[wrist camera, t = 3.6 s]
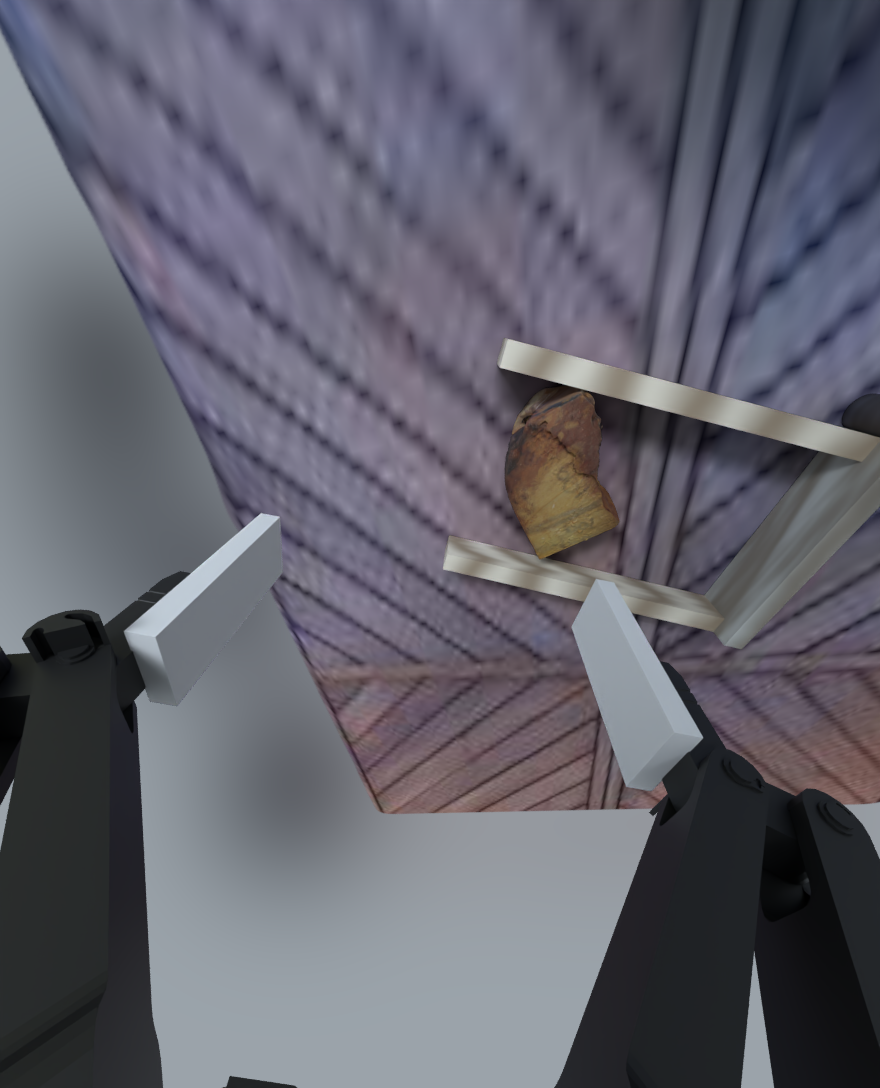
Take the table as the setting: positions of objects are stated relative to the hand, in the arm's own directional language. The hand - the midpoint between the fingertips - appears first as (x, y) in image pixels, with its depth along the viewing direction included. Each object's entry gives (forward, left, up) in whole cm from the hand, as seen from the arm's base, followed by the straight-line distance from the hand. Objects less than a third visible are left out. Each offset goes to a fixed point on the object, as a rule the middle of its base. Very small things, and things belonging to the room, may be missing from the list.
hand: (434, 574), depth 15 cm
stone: (+11, -2, -24) cm, 26 cm away
